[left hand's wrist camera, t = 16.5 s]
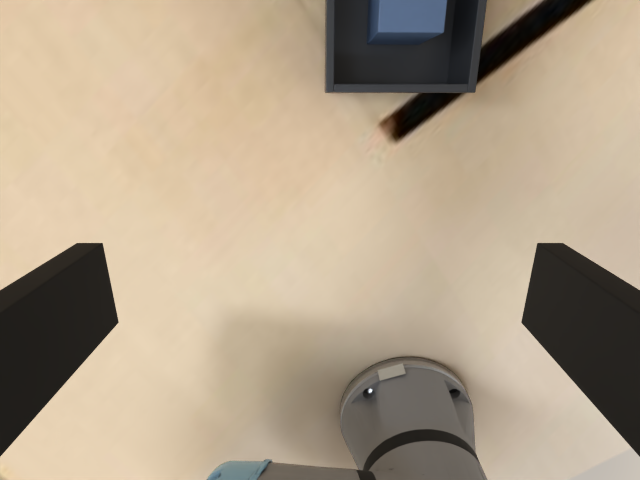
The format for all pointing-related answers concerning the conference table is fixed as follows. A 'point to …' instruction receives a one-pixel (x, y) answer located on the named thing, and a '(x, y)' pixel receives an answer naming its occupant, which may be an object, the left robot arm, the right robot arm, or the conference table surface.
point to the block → (405, 21)
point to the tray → (402, 53)
